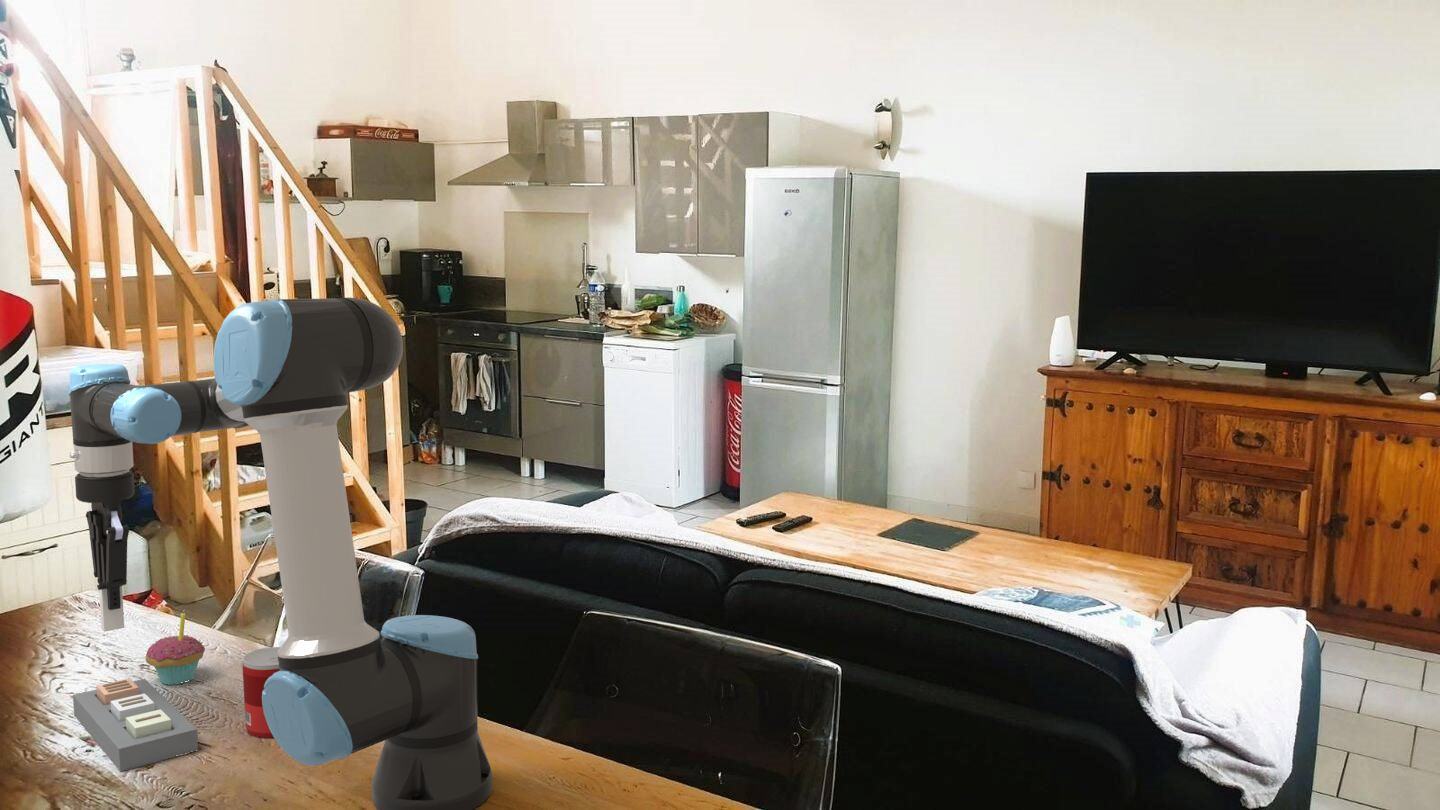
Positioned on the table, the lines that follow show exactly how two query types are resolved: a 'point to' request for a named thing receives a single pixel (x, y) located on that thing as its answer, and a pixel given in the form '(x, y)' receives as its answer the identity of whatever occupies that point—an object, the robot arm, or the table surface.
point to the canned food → (257, 688)
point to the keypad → (121, 743)
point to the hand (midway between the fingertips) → (112, 628)
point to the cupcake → (175, 656)
